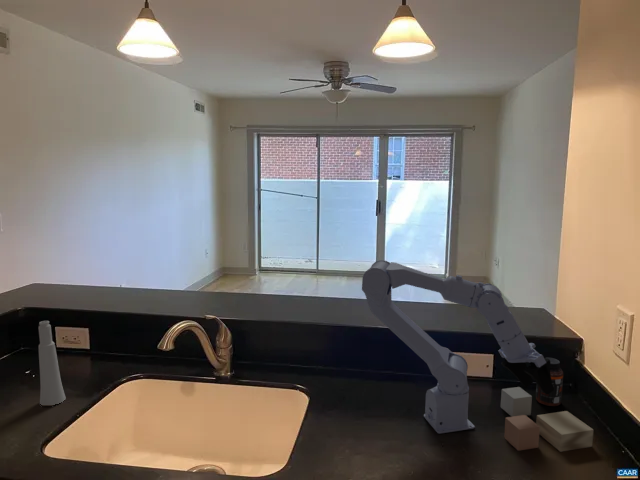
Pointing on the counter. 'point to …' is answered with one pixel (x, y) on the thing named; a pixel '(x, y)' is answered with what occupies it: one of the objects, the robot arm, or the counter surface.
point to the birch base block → (564, 431)
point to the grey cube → (516, 401)
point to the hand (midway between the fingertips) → (538, 388)
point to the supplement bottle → (557, 381)
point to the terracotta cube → (521, 432)
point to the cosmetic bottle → (49, 368)
